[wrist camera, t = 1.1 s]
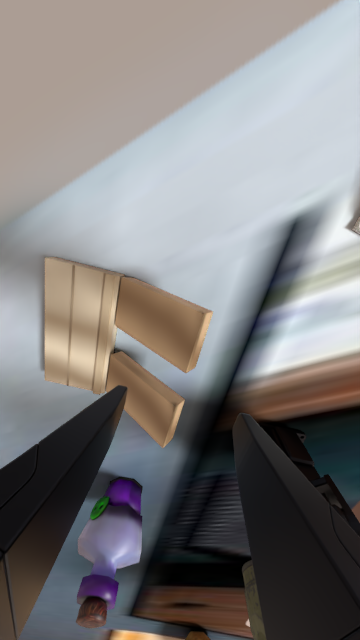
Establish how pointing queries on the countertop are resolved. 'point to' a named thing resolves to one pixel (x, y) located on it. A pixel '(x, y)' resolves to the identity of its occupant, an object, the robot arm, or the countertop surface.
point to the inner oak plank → (146, 398)
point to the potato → (197, 636)
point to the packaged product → (357, 226)
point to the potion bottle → (109, 548)
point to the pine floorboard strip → (79, 323)
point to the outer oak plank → (162, 322)
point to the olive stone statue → (253, 602)
